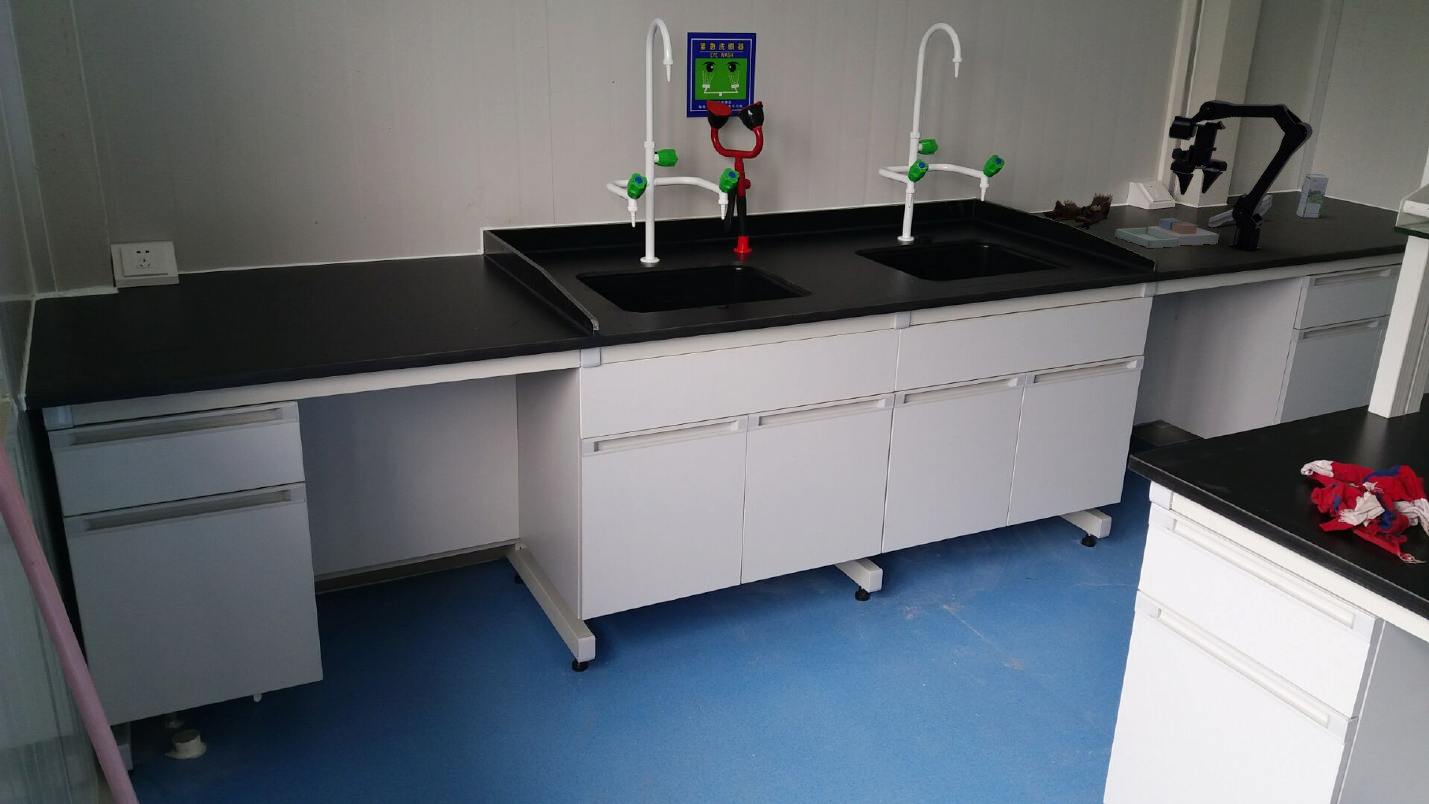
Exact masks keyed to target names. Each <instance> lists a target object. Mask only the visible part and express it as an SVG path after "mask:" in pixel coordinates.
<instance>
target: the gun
mask: <svg viewBox="0 0 1429 804" xmlns="http://www.w3.org/2000/svg"><path fill="white" fill-rule="evenodd" d="M1272 202H1273V195H1270V194H1265V196H1264V198H1263V202H1262V205H1261V207H1260V209H1259V211H1258V213H1259V214H1260V216H1261V217H1262V216H1263V215H1265V213H1266V212H1267V211H1268V210H1269V209H1270V208H1272ZM1233 209H1234V208H1231V209H1229V210H1227V211H1225V212H1222V213H1219V214H1217V215H1214V216H1211V217H1210V218H1209V219H1208V223H1207V224H1208V226H1209V228H1212V229H1213V227H1214V228H1216V227H1219V226H1221V225H1223V223H1226V222H1231V221H1233V220H1234V219H1233V217H1232V211H1233ZM1234 221H1235V220H1234Z"/></svg>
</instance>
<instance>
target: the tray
mask: <svg viewBox="0 0 1429 804" xmlns="http://www.w3.org/2000/svg"><path fill="white" fill-rule="evenodd" d="M1147 230H1148V227H1134V228H1133V227H1130V228H1116V229H1115V232H1114V238H1116V237H1117V239H1120V240H1122V239H1124V240H1123V241H1125V240H1126V241H1125V242H1127V241H1128V243H1130V242H1133V243H1136V244H1139V245H1144V246H1146V247H1147V248H1154V249H1164V248H1163V247H1172V248H1179V246H1178V244H1179V239H1178V238H1176V239H1159V238H1156V237H1153V236H1150V235H1147ZM1133 243H1132V244H1133ZM1136 244H1135V245H1136ZM1139 245H1138V246H1139ZM1147 248H1146V249H1147Z"/></svg>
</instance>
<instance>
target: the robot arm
mask: <svg viewBox="0 0 1429 804" xmlns="http://www.w3.org/2000/svg"><path fill="white" fill-rule="evenodd" d="M1228 118H1255V119H1256V118H1257V119H1258V118H1259V119H1260V118H1261V119H1262V118H1267V119H1273V120H1274V121H1275V122H1276V124H1277V125H1278V127H1279V128H1280V129H1281V130H1282V132H1283V133H1284V134H1283V136H1282V139H1281V142H1280V144H1279V147H1278V150H1277V152H1276V153H1275V154H1274V156H1273V158H1272V159H1271V160H1270V162H1269V163H1268V164H1267V167H1266V168H1265V169H1264V170H1263V173H1262V174H1261V175H1260V177H1259V178H1258V180H1257V181H1256V183H1255V184H1254V186H1253V187H1252V189H1251V190H1250V191H1249V192H1248V193H1247V192H1245V193H1242V194H1240V195H1239V196H1238V199H1237V200H1236V202H1235V204H1233V205H1232V206H1231V209H1233V211H1232V217H1233V219H1234V222H1235V225H1236V230H1235V231H1234V232H1235V233H1234V236H1233V241H1232V243H1229V244H1228V245H1230V246H1229V247H1232V246H1233V247H1232V248H1235V247H1236V249H1239V248H1241V249H1240V250H1242V249H1244V250H1243V251H1251V250H1250V249H1257V250H1262V247H1260V246H1258V245H1259V240H1260V235H1261V231H1262V230H1261V229H1260V227H1262V225H1263V224H1264V222H1265V219H1264V218H1263V217H1262V216H1260V214H1259V213H1258V212H1259V211H1260V210H1259V209H1260V207H1261V205H1262V202H1263V198H1264V197H1265V196H1266V195H1267V193H1268V191H1269V190H1270V189H1271V187H1272V186H1273V184H1274V183H1275V181H1276V180H1277V179H1278V177H1279V175H1280V174H1281V173H1282V171H1283V170H1284V168H1285V167H1286V166H1287V164H1288V162H1290V160H1291V158H1292V157H1293V155H1294V154H1296V152H1298V150H1300V149H1301V148H1302V147H1303V146H1304V145H1305V143H1307V141H1309V139H1310V138H1311V137H1312V135H1313V132H1314V131H1313V128H1312V126H1311V125H1310V124H1309V123H1308V122H1304V121H1302V119H1300V117H1299V116H1298V115H1297V114H1295V113H1294V112H1293V111H1291V109H1289V108H1288V106H1287V105H1286V104H1285V103H1277V104H1275V103H1274V104H1273V103H1272V104H1268V103H1267V104H1265V103H1264V104H1263V103H1262V104H1261V103H1254V104H1253V103H1234V102H1230V101H1225V100H1221V99H1212V100H1208V101H1204V102H1203V103H1202V104H1201V105H1200V107H1199V110H1198V112H1197V113H1196V114H1194V115H1193V116H1192V117H1186V116H1182V115H1175V116H1174V118H1173V121H1172V123H1171V125H1170V127H1169V130H1168V137H1169V139H1175V140H1181V141H1182V140H1183V141H1188V142H1189V141H1190V140H1191V139H1193V138H1195V139H1194V142H1193V144H1190V145H1189V147H1188V149H1184V150H1183V149H1182V148H1181V147H1177V148H1176V147H1175V148H1173V150H1172V153H1171V159H1173V161H1172V162H1171V164H1170V167H1169V170H1170V171H1172V173H1173V174H1175V175H1176V177H1177V179H1178V185H1179V191H1180V195H1181V196H1185V194H1186V193H1187V191H1188V188H1189V187H1190V184H1191V182H1192V180H1193V178H1194V175H1195V174H1194V172H1195V170H1201V171H1202V174H1203V179H1202V186H1201V194H1206V193H1207V192H1208V190H1209V189H1210V188H1211V186H1212V185H1213V184H1214V183H1215V182H1216V180H1217V179H1218V178H1219V177H1220V176H1221V175H1223V173H1224V172H1227V170H1228V163H1227V162H1226V160H1220V159H1216V158H1212V156H1213V152H1216V151H1217V147H1215V144H1216V139H1217V135H1218V131H1219V130H1220V131H1222V130H1225V129H1226V128H1227V127H1226V126H1225V125H1224V123H1223V121H1222V120H1223V119H1228ZM1216 120H1217V122H1213V121H1216ZM1218 120H1219V121H1218ZM1205 121H1206V122H1205ZM1211 121H1212V122H1211ZM1201 122H1204V124H1203V123H1201ZM1246 249H1247V250H1246ZM1248 249H1249V250H1248Z"/></svg>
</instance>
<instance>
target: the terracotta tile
mask: <svg viewBox="0 0 1429 804" xmlns="http://www.w3.org/2000/svg"><path fill="white" fill-rule="evenodd" d="M1197 228H1198V225H1197V224H1194V223H1190V222H1187V221H1184V222H1177V223H1173V225H1172V230H1171V231H1174V232H1177V233H1180V234H1196V231H1197Z"/></svg>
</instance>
